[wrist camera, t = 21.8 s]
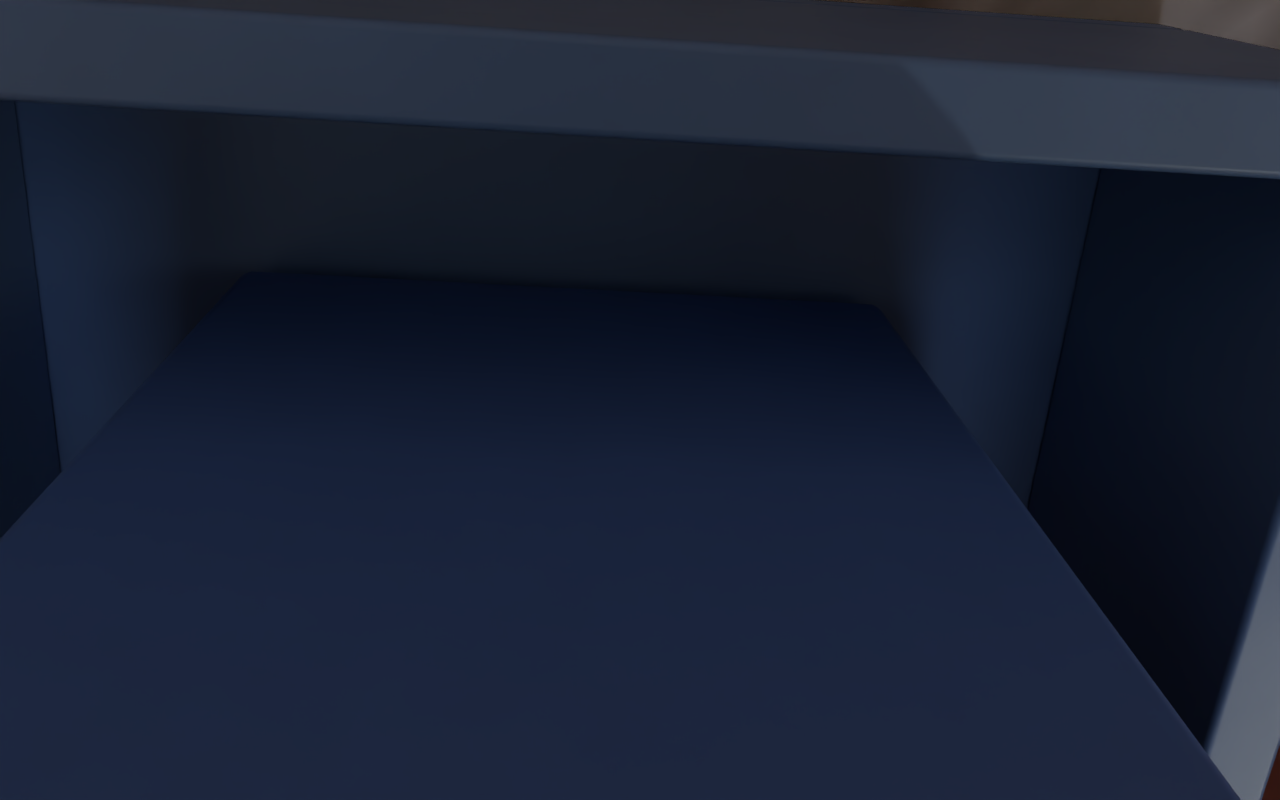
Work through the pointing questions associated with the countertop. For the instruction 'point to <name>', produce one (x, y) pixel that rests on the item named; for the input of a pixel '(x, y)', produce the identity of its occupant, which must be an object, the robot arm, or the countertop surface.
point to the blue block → (555, 569)
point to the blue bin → (716, 234)
